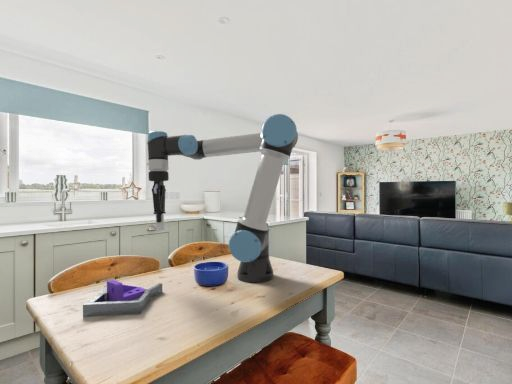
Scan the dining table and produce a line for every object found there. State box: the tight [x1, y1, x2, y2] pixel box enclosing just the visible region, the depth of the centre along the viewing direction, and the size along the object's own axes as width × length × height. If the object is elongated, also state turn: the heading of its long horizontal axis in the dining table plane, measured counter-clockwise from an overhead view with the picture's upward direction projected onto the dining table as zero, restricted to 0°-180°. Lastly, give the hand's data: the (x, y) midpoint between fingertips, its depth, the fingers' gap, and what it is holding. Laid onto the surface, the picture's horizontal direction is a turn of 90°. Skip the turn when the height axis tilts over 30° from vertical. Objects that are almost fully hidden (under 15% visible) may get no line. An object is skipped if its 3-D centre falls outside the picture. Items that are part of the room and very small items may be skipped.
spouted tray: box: [82, 282, 163, 318], centre depth 91 cm, size 20×19×4 cm
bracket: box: [106, 279, 148, 302], centre depth 95 cm, size 12×7×7 cm, turn 143°
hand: (160, 230), depth 111 cm, fingers closed
